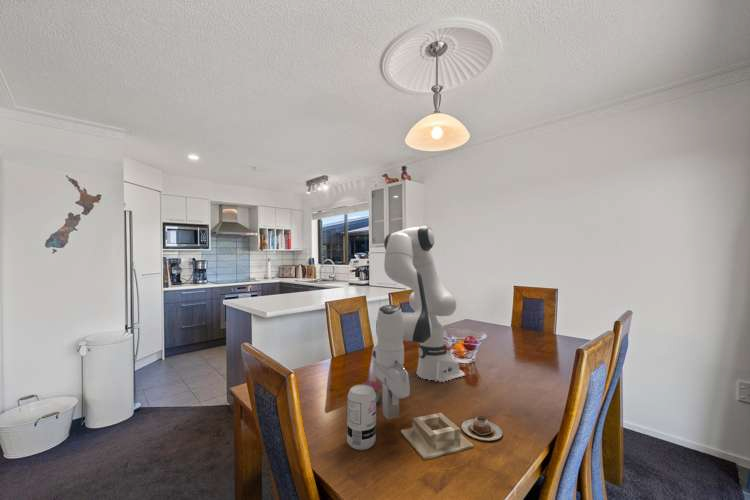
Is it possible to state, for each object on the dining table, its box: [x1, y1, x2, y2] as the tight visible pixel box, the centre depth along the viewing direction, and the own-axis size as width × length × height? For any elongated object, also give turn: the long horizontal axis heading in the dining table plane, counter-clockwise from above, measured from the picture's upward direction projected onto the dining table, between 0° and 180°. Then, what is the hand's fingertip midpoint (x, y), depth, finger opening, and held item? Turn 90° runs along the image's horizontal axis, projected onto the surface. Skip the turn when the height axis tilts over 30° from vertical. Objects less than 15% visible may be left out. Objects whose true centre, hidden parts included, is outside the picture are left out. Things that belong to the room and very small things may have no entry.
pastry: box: [460, 414, 503, 442], centre depth 94 cm, size 12×12×5 cm
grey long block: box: [381, 378, 400, 420], centre depth 97 cm, size 4×4×12 cm
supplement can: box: [346, 384, 377, 451], centre depth 87 cm, size 8×8×15 cm
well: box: [400, 412, 475, 461], centre depth 89 cm, size 16×14×5 cm
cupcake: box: [361, 375, 383, 403], centre depth 114 cm, size 9×8×12 cm
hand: (390, 400), depth 97 cm, fingers closed on grey long block, 4 cm apart
